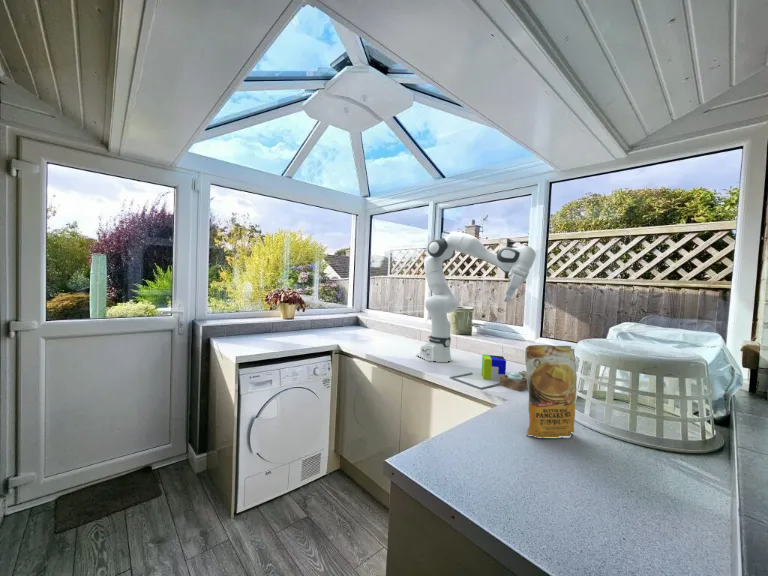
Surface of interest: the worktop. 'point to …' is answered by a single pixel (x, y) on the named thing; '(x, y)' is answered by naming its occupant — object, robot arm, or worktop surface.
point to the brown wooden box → (515, 382)
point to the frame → (471, 384)
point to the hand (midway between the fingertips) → (506, 299)
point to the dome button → (515, 376)
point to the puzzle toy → (493, 367)
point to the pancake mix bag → (551, 390)
